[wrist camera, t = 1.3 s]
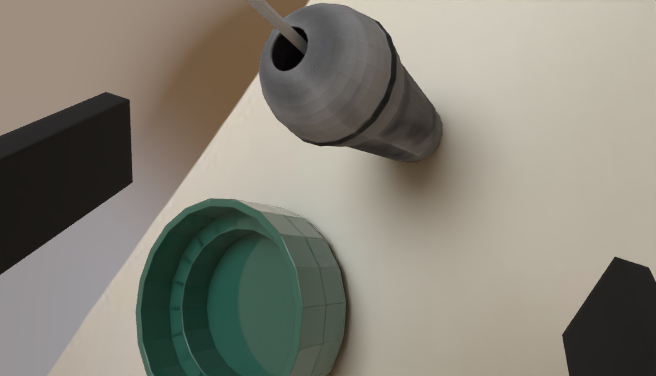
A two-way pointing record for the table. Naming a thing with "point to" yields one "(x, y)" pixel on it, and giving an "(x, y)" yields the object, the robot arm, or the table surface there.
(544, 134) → the table surface
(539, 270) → the table surface
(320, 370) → the green pet bowl
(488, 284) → the table surface
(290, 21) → the beverage cup
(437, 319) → the table surface
